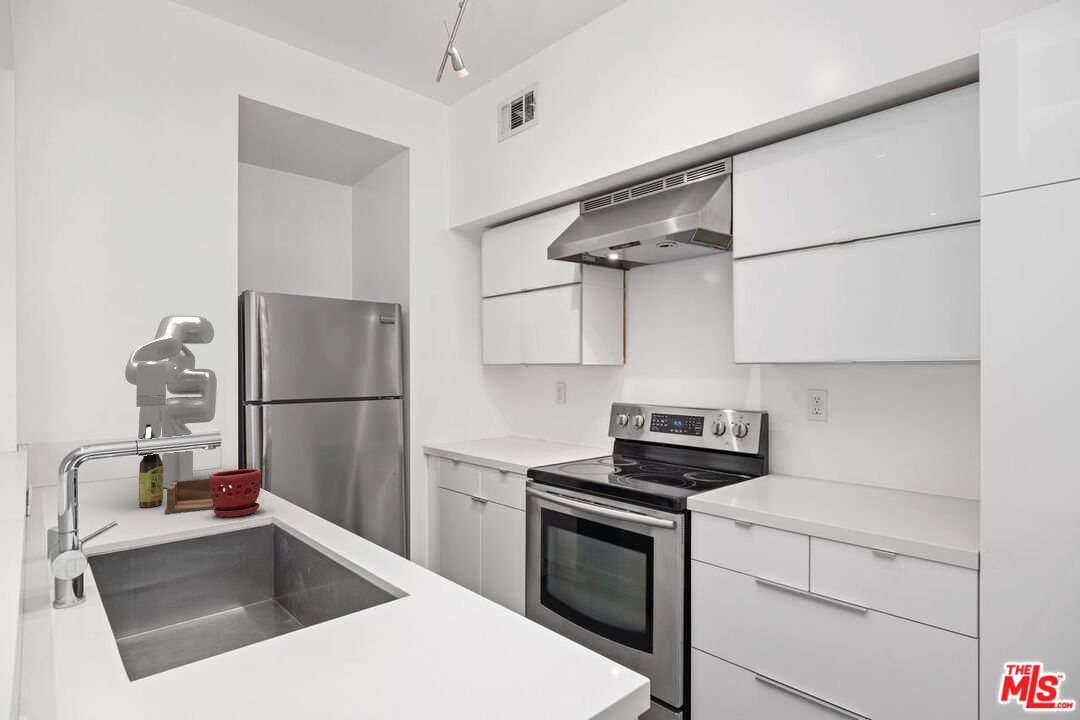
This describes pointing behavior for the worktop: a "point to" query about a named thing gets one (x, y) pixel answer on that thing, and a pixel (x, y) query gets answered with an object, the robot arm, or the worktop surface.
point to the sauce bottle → (151, 483)
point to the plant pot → (235, 491)
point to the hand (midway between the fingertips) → (151, 460)
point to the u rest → (189, 496)
